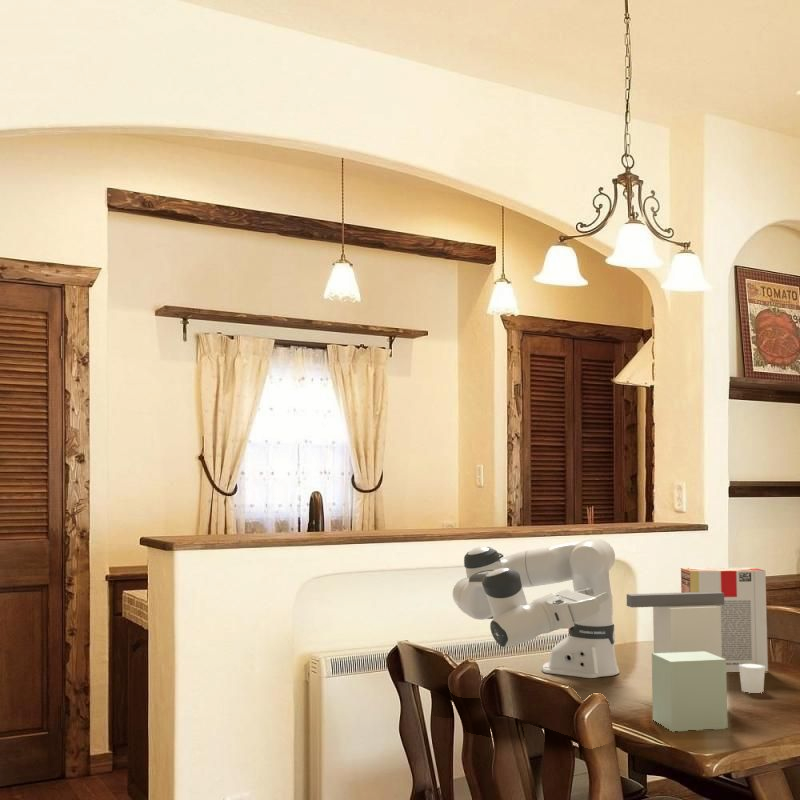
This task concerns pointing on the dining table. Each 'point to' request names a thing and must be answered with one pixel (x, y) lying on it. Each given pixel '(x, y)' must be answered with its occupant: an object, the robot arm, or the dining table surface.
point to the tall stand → (687, 629)
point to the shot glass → (752, 677)
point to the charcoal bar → (675, 599)
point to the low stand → (689, 690)
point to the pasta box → (736, 610)
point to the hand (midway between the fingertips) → (599, 592)
